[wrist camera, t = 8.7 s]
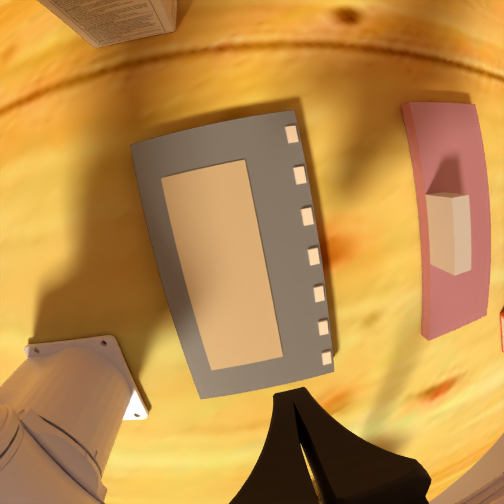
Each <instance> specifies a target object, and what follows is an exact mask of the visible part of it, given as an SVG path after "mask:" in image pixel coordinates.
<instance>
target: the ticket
mask: <svg viewBox="0 0 504 504" xmlns="http://www.w3.org/2000/svg"><path fill="white" fill-rule="evenodd" d="M130 146H131V152H132V157H133V162H134V168H135V173H136V178H137V183H138V188H139V192H140V197H141V202H142V206H143V210H144V215H145V219H146V223H147V228H148V232H149V236H150V240H151V244H152V248H153V252H154V255H155V259H156V263H157V267H158V270H159V274H160V278H161V281H162V285H163V288H164V292H165V295H166V298H167V302H168V305H169V308H170V312H171V315H172V318H173V321H174V325H175V328H176V331H177V334H178V337H179V340H180V343H181V346H182V349H183V352H184V355H185V358H186V361H187V364H188V366H189V369H190V372H191V375H192V378H193V380H194V383H195V386H196V388H197V391H198V394H199V396H200V399H206V398H213V397H220V396H226V395H232V394H238V393H243V392H249V391H254V390H259V389H264V388H269V387H274V386H278V385H283V384H287V383H292V382H296V381H300V380H304V379H308V378H312V377H316V376H320V375H324V374H327V373H331V372H334V362H333V351H332V341H331V331H330V322H329V313H328V304H327V296H326V288H325V280H324V273H323V265H322V258H321V251H320V245H319V238H318V232H317V225H316V219H315V213H314V207H313V201H312V196H311V190H310V184H309V179H308V174H307V168H306V163H305V158H304V153H303V148H302V143H301V138H300V133H299V129H298V124H297V119H296V115H295V110H290V111H283V112H276V113H269V114H263V115H257V116H251V117H245V118H239V119H234V120H229V121H224V122H219V123H214V124H209V125H205V126H200V127H196V128H191V129H187V130H183V131H179V132H175V133H171V134H167V135H163V136H160V137H156V138H152V139H149V140H145V141H142V142H138V143H135V144H131V145H130Z"/></svg>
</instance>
